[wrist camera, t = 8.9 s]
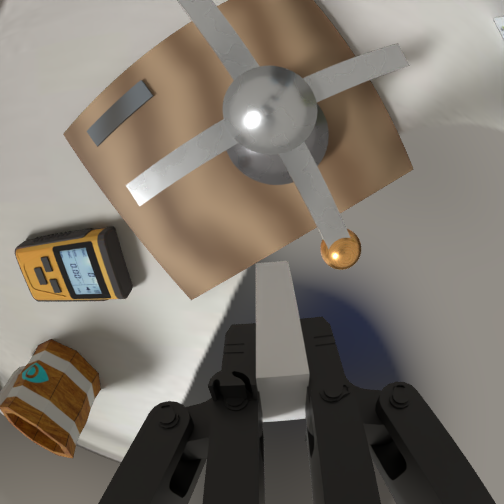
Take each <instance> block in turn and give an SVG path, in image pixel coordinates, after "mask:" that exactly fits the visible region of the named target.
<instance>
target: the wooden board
mask: <svg viewBox="0 0 504 504" xmlns="http://www.w3.org/2000/svg"><path fill="white" fill-rule="evenodd" d="M217 8H218V9H219V10H220V11H221V13H222V14H223V15H224V17H225V18H226V19H227V21H228V22H229V23H230V25H231V26H232V27H233V29H234V30H235V31H236V33H237V34H238V36H239V37H240V38H241V40H242V41H243V43H244V44H245V46H246V47H247V48H248V50H249V51H250V53H251V54H252V56H253V57H254V59H255V60H256V62H257V63H258V65H259V66H279V67H283V68H286V69H289V70H291V71H293V72H295V73H296V74H298V75H299V76H300V77H302V78H304V77H307V76H309V75H311V74H314V73H316V72H318V71H321V70H323V69H325V68H328V67H330V66H333V65H335V64H338V63H341V62H343V61H346V60H349V59H351V58H354V57H355V55H354V54H353V52H352V51H351V49H350V48H349V46H348V45H347V43H346V42H345V40H344V39H343V38H342V36H341V35H340V33H339V32H338V31H337V29H336V28H335V27H334V25H333V24H332V23H331V21H330V20H329V19H328V18H327V16H326V15H325V14H324V13H323V11H322V10H321V9H320V8H319V7H318V5H317V4H316V3H315V2H314V1H313V0H228V1H226V2H224V3H222V4H221V5H219V6H217ZM232 82H233V79H232V78H231V76H230V75H229V73H228V72H227V70H226V69H225V67H224V66H223V64H222V63H221V61H220V60H219V58H218V57H217V55H216V54H215V52H214V51H213V49H212V48H211V47H210V45H209V44H208V42H207V41H206V40H205V38H204V37H203V35H202V34H201V33H200V31H199V30H198V28H197V27H196V26H195V24H194V23H193V22H192V21H191V22H190V23H188V24H187V25H185V26H184V27H182V28H181V29H179V30H178V31H176V32H175V33H173V34H172V35H170V36H169V37H168V38H166V39H165V40H163V41H162V42H161V43H159V44H158V45H156V46H155V47H154V48H153V49H151V50H150V51H149V52H147V53H146V54H145V55H144V56H142V57H141V58H140V59H139V60H137V61H136V62H135V63H134V64H132V65H131V66H130V67H129V68H128V69H127V70H125V71H124V72H123V73H122V74H121V75H120V76H119V77H118V78H116V79H115V80H114V81H113V82H112V83H111V84H110V85H109V86H108V87H107V88H106V89H105V90H104V91H103V92H102V93H101V94H100V95H98V96H97V97H96V98H95V100H94V101H93V102H92V103H91V104H90V105H89V106H88V107H87V108H86V109H85V110H84V111H83V112H82V113H81V114H80V115H79V116H78V118H77V119H76V120H75V121H74V122H73V123H72V124H71V125H70V127H69V128H68V129H67V130H66V131H65V132H64V134H63V135H64V136H65V138H66V139H67V141H68V142H69V144H70V145H71V147H72V148H73V150H74V151H75V153H76V154H77V156H78V157H79V159H80V160H81V162H82V163H83V165H84V166H85V167H86V169H87V170H88V172H89V173H90V175H91V176H92V177H93V179H94V180H95V182H96V183H97V184H98V186H99V187H100V189H101V190H102V191H103V193H104V194H105V195H106V197H107V198H108V199H109V201H110V202H111V204H112V205H113V206H114V207H115V209H116V210H117V211H118V213H119V214H120V215H121V217H122V218H123V219H124V221H125V222H126V223H127V224H128V226H129V227H130V228H131V229H132V231H133V232H134V233H135V235H136V236H137V237H138V238H139V239H140V241H141V242H142V243H143V244H144V246H145V247H146V248H147V249H148V251H149V252H150V253H151V254H152V255H153V257H154V258H155V259H156V260H157V261H158V263H159V264H160V265H161V266H162V267H163V268H164V270H165V271H166V272H167V273H168V274H169V275H170V277H171V278H172V279H173V280H174V281H175V282H176V283H177V285H178V286H179V287H180V288H181V289H182V290H183V291H184V293H185V294H186V295H187V296H188V297H189V298H190V299H191V300H192V299H194V298H196V297H198V296H199V295H201V294H203V293H205V292H206V291H208V290H210V289H212V288H213V287H215V286H217V285H219V284H220V283H222V282H224V281H226V280H227V279H229V278H231V277H233V276H234V275H236V274H238V273H239V272H241V271H243V270H245V269H246V268H248V267H250V266H252V265H253V264H255V263H257V262H258V261H260V260H262V259H264V258H265V257H267V256H269V255H270V254H272V253H274V252H276V251H277V250H279V249H281V248H282V247H284V246H286V245H287V244H289V243H291V242H293V241H294V240H296V239H298V238H299V237H301V236H303V235H304V234H306V233H308V232H310V231H311V230H313V229H315V228H316V227H317V226H316V224H315V222H314V220H313V218H312V216H311V214H310V212H309V210H308V208H307V207H306V205H305V203H304V201H303V199H302V197H301V195H300V193H299V191H298V189H297V188H296V186H295V184H294V182H293V183H290V184H284V185H269V184H264V183H261V182H258V181H255V180H253V179H251V178H249V177H248V176H246V175H244V174H243V173H242V172H241V171H240V170H239V169H238V168H237V167H236V166H235V165H234V164H233V162H232V161H231V159H230V157H229V155H228V153H227V151H224V152H222V153H220V154H219V155H217V156H215V157H214V158H212V159H211V160H209V161H207V162H206V163H204V164H202V165H201V166H199V167H198V168H196V169H194V170H193V171H191V172H190V173H188V174H187V175H185V176H184V177H182V178H180V179H179V180H177V181H176V182H174V183H173V184H171V185H170V186H168V187H167V188H165V189H164V190H163V191H161V192H160V193H158V194H157V195H155V196H154V197H152V198H151V199H150V200H148V201H147V202H145V203H144V204H143V205H141V206H139V205H138V203H137V202H136V200H135V199H134V197H133V196H132V194H131V193H130V191H129V190H128V188H127V187H126V185H127V184H128V183H130V182H131V181H132V180H134V179H135V178H136V177H138V176H139V175H140V174H142V173H143V172H144V171H146V170H147V169H148V168H150V167H151V166H152V165H154V164H155V163H157V162H158V161H159V160H161V159H162V158H164V157H165V156H167V155H168V154H169V153H171V152H172V151H174V150H175V149H177V148H178V147H180V146H181V145H183V144H184V143H186V142H187V141H189V140H190V139H192V138H194V137H195V136H197V135H198V134H200V133H201V132H203V131H205V130H206V129H208V128H210V127H211V126H213V125H214V124H216V123H218V122H220V121H221V120H223V119H224V118H223V101H224V97H225V94H226V91H227V90H228V88H229V86H230V85H231V83H232ZM317 104H318V105H319V106H320V108H321V110H322V111H323V113H324V115H325V118H326V121H327V124H328V131H329V139H328V146H327V150H326V152H325V155H324V157H323V159H322V161H321V162H320V163H319V165H318V166H317V167H318V169H319V171H320V173H321V175H322V177H323V179H324V181H325V183H326V185H327V187H328V189H329V191H330V193H331V195H332V197H333V200H334V202H335V204H336V206H337V208H338V210H339V213H342V212H343V211H345V210H347V209H348V208H350V207H352V206H353V205H355V204H357V203H358V202H360V201H362V200H363V199H365V198H367V197H368V196H370V195H372V194H373V193H375V192H377V191H378V190H380V189H382V188H383V187H385V186H387V185H388V184H390V183H392V182H393V181H395V180H397V179H398V178H400V177H402V176H403V175H405V174H407V173H408V172H410V171H411V170H413V167H412V164H411V162H410V159H409V157H408V154H407V152H406V150H405V147H404V145H403V143H402V141H401V139H400V136H399V134H398V132H397V130H396V128H395V126H394V124H393V122H392V120H391V118H390V116H389V114H388V112H387V110H386V108H385V106H384V104H383V102H382V100H381V98H380V97H379V95H378V93H377V91H376V89H375V88H374V86H373V84H372V82H371V81H370V80H368V81H366V82H363V83H361V84H358V85H356V86H354V87H351V88H349V89H346V90H344V91H342V92H339V93H337V94H335V95H332V96H330V97H328V98H326V99H323V100H321V101H319V102H317Z"/></svg>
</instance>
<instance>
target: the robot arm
mask: <svg viewBox="0 0 504 504" xmlns="http://www.w3.org/2000/svg"><path fill="white" fill-rule="evenodd" d="M224 345H225V346H224V355H223V361H222V370H221V371H220V372H217V373H216V374H215V375H214V376H213V377H212V378H211V379H210V381H209V384H208V388H209V390H210V393H211V396H212V398H211V399H209V400H208V401H206V402H203V403H201V404H197V405H193V406H189V407H184V406H183V405H182V404H180V403H178V402H171V401H168V402H163V403H160V404H158V405H157V406H155V407H154V408H153V409H152V410H151V411H150V413H149V414H148V416H147V418H146V420H145V421H144V423H143V425H142V427H141V428H140V430H139V432H138V434H137V436H136V437H135V439H134V441H133V443H132V444H131V446H130V448H129V450H128V452H127V453H126V455H125V457H124V459H123V460H122V462H121V464H120V466H119V468H118V469H117V471H116V473H115V475H114V476H113V478H112V480H111V482H110V484H109V486H108V487H107V489H106V491H105V493H104V494H103V496H102V498H101V500H100V502H99V503H98V504H188V503H189V500H190V498H191V495H192V493H193V491H194V489H195V486H196V483H197V481H198V479H199V476H200V474H201V472H202V469H203V467H204V464H205V462H206V459H207V465H206V475H205V485H204V495H203V504H265V483H264V482H265V481H264V480H265V478H264V435H263V422H268V421H282V420H293V419H294V420H295V419H304V418H305V416H306V421H307V429H306V438H305V441H307V444H308V453H309V463H310V473H311V483H312V494H313V504H381V503H380V497H379V492H378V486H377V482H376V477H375V472H374V468H373V463H372V460H373V462H374V464H375V465H376V467H377V469H378V471H379V473H380V474H381V476H382V478H383V480H384V481H385V484H386V485H387V487H388V489H389V491H390V493H391V494H392V496H393V498H394V500H395V502H396V504H496V503H495V502H494V500H493V499H492V497H491V495H490V494H489V492H488V491H487V489H486V487H485V486H484V484H483V483H482V481H481V480H480V478H479V477H478V475H477V474H476V472H475V471H474V469H473V468H472V466H471V465H470V463H469V462H468V460H467V459H466V457H465V456H464V455H463V453H462V452H461V450H460V449H459V447H458V446H457V444H456V443H455V442H454V440H453V439H452V437H451V436H450V435H449V433H448V432H447V430H446V429H445V428H444V426H443V425H442V423H441V422H440V421H439V419H438V418H437V417H436V415H435V414H434V413H433V411H432V410H431V408H430V407H429V406H428V404H427V403H426V402H425V401H424V399H423V398H422V396H421V395H420V394H419V393H418V391H417V390H416V389H415V388H414V387H413V386H412V385H410V384H407V383H405V382H394V383H391V384H388V385H387V386H386V387H384V388H383V390H382V391H380V390H368V389H362V388H359V387H356V386H354V385H353V384H352V383H350V382H349V381H348V380H347V378H346V376H345V374H344V371H343V367H342V363H341V361H340V356H339V353H338V350H337V347H336V344H335V339H334V337H333V333H332V330H331V326H330V324H329V323H328V322H327V321H326V320H325V319H324V318H323V317H315V318H305V319H299V313H298V308H297V303H296V298H295V293H294V288H293V283H292V278H291V273H290V269H289V263H288V261H280V262H267V263H256V323H253V324H236V325H231V327H230V328H229V330H228V331H227V333H226V335H225V344H224ZM371 458H372V459H371Z"/></svg>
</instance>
